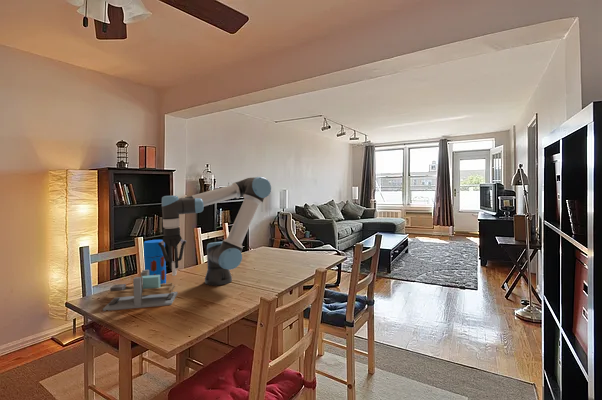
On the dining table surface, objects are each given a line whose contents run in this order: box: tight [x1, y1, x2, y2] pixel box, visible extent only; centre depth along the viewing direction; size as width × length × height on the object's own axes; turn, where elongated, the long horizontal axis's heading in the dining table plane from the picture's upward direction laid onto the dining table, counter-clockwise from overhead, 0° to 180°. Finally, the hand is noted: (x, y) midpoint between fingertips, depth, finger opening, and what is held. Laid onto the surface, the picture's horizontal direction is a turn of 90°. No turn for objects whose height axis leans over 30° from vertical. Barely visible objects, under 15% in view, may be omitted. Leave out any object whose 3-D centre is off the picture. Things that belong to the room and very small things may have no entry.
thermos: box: [143, 239, 167, 284], centre depth 181 cm, size 11×11×25 cm
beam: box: [105, 271, 176, 299], centre depth 155 cm, size 28×12×9 cm, turn 102°
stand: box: [102, 269, 178, 312], centre depth 155 cm, size 29×16×14 cm, turn 102°
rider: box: [142, 275, 161, 289], centre depth 156 cm, size 8×4×6 cm, turn 102°
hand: (174, 274), depth 158 cm, fingers closed
